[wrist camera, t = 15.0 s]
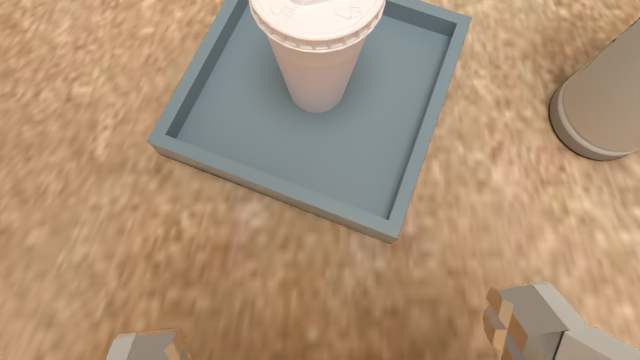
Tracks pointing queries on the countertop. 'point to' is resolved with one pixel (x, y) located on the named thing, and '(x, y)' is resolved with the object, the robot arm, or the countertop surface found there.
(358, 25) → the smoothie
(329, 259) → the countertop surface
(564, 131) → the travel mug
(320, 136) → the tray
